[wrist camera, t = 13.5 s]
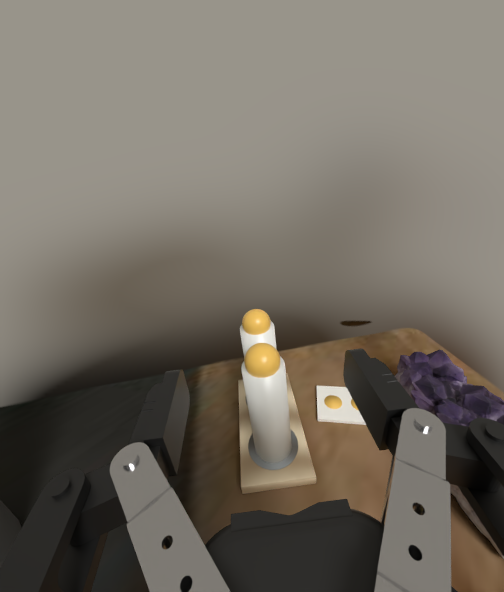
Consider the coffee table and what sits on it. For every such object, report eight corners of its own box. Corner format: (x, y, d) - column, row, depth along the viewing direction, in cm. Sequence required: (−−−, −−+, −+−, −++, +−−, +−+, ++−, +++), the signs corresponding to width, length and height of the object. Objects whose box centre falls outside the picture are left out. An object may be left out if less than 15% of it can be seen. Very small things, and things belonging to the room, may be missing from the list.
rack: (316, 483, 28) (315, 475, 28) (242, 493, 28) (240, 486, 27) (287, 379, 43) (287, 372, 42) (239, 385, 43) (238, 379, 42)
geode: (353, 402, 37) (364, 341, 34) (422, 390, 40) (439, 332, 36) (517, 606, 19) (580, 518, 15) (626, 560, 21) (703, 475, 18)
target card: (317, 420, 35) (317, 418, 35) (316, 387, 40) (316, 385, 40) (382, 426, 33) (382, 423, 33) (372, 390, 38) (372, 388, 38)
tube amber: (248, 454, 30) (229, 355, 24) (263, 424, 34) (250, 330, 28) (284, 469, 29) (272, 365, 22) (296, 435, 32) (289, 337, 26)
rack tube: (245, 404, 37) (230, 317, 31) (258, 383, 41) (247, 301, 35) (274, 412, 35) (263, 322, 29) (285, 390, 39) (277, 304, 33)
